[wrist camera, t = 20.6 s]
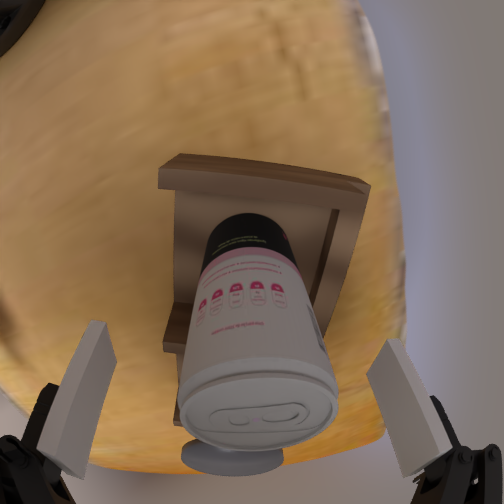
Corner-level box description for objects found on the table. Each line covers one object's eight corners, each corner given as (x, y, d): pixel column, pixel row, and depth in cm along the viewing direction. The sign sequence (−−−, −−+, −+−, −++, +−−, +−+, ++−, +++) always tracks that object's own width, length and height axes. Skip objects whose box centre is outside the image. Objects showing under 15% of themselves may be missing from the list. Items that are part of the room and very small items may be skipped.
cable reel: (193, 331, 27) (177, 439, 16) (278, 338, 28) (294, 444, 17) (193, 382, 31) (184, 472, 20) (264, 387, 31) (273, 476, 21)
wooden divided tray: (179, 153, 20) (158, 167, 15) (358, 178, 21) (393, 200, 16) (179, 385, 32) (173, 425, 27) (290, 392, 33) (296, 431, 28)
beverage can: (289, 279, 25) (332, 442, 11) (213, 287, 25) (198, 454, 11) (286, 206, 22) (355, 360, 8) (200, 215, 22) (150, 378, 8)
